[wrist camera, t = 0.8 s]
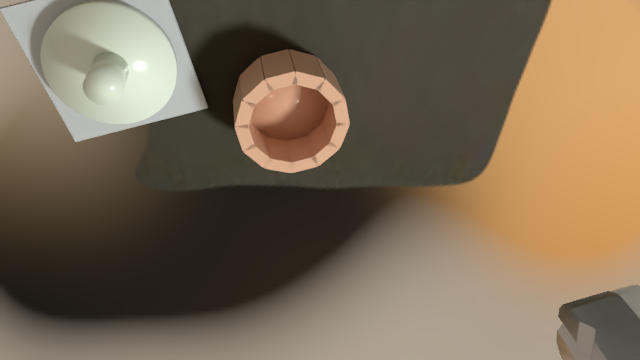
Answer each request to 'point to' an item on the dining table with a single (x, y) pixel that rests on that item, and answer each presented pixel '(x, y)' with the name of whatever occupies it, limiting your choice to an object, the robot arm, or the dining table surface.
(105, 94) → the lid
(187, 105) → the mat
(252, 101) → the bowl
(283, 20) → the dining table surface
